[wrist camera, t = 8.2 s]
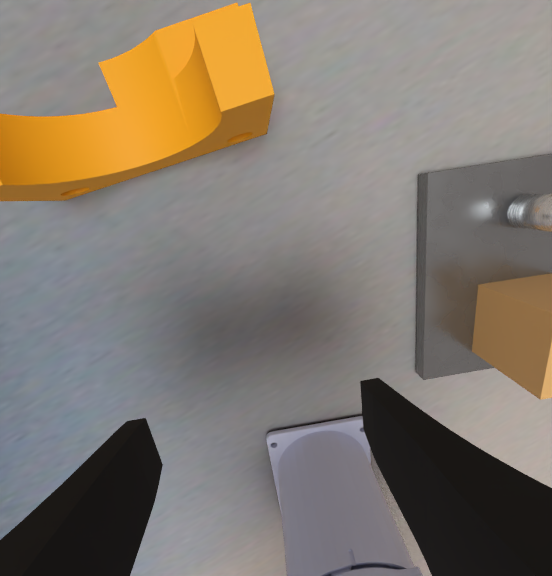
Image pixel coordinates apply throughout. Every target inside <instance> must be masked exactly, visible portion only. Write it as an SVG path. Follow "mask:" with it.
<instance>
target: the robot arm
mask: <svg viewBox="0 0 552 576" xmlns="http://www.w3.org/2000/svg"><path fill="white" fill-rule="evenodd" d="M360 382H361V398H362V415H363V416H358V417H353V418H347V419H341V420H335V421H330V422H324V423H318V424H313V425H307V426H301V427H296V428H290V429H284V430H278V431H273V432H269V433H268V434H267V436H266V441H267V446H268V451H269V456H270V461H271V466H272V471H273V476H274V481H275V486H276V491H277V496H278V501H279V506H280V511H281V516H282V525H283V536H284V548H285V559H286V571H287V576H423V575H422V573H421V571H420V568H419V567H415V566H414V564H413V562H412V559H411V557H410V555H409V552H408V550H407V548H406V545H405V543H404V541H403V539H402V536H401V534H400V532H399V529H398V527H397V525H396V523H395V520H394V518H393V516H392V513H391V511H390V509H389V506H388V504H387V502H386V500H385V497H384V495H383V493H382V490H381V488H380V486H379V483H378V481H377V479H376V477H375V474H374V472H373V470H372V467H371V456H370V448H371V451H372V453H373V456H374V458H375V461H376V463H377V465H378V467H379V469H380V471H381V473H382V475H383V477H384V479H385V481H386V483H387V485H388V486H389V488H390V490H391V492H392V494H393V496H394V498H395V500H396V502H397V504H398V506H399V508H400V510H401V512H402V514H403V516H404V518H405V520H406V522H407V524H408V526H409V527H410V529H411V531H412V533H413V535H414V537H415V539H416V541H417V543H418V545H419V548H420V550H421V552H422V554H423V556H424V558H425V560H426V563H427V565H428V567H429V570H430V572H431V574H432V576H552V488H550V487H548V486H546V485H544V484H542V483H540V482H539V481H537V480H535V479H533V478H531V477H529V476H527V475H525V474H523V473H522V472H520V471H518V470H516V469H514V468H513V467H511V466H509V465H507V464H505V463H504V462H502V461H500V460H498V459H497V458H495V457H493V456H491V455H490V454H488V453H486V452H484V451H483V450H481V449H479V448H478V447H476V446H475V445H473V444H471V443H470V442H468V441H467V440H465V439H463V438H462V437H460V436H459V435H457V434H456V433H454V432H452V431H451V430H449V429H448V428H446V427H445V426H443V425H442V424H440V423H439V422H438V421H436V420H435V419H433V418H432V417H430V416H429V415H428V414H426V413H425V412H423V411H422V410H421V409H419V408H418V407H416V406H415V405H414V404H412V403H411V402H410V401H408V400H407V399H406V398H404V397H403V396H402V395H400V394H399V393H398V392H396V391H395V390H394V389H392V388H391V387H390V386H388V385H387V384H386V383H384V382H383V381H382V380H380V379H379V378H375V379H370V380H364V381H360ZM361 427H363V428H361ZM272 443H275V444H272ZM162 465H163V464H162V462H161V459H160V456H159V453H158V451H157V448H156V445H155V442H154V440H153V437H152V434H151V431H150V429H149V426H148V423H147V420H146V418H143V419H137V420H131V421H127V422H126V423H125V424H124V425H122V426H121V427H120V428H119V429H118V430H117V431H116V432H115V433H114V434H113V435H112V436H111V437H110V438H109V439H108V440H107V441H106V442H105V443H104V444H103V445H102V446H101V447H100V448H99V449H98V450H96V451H95V452H94V453H93V454H92V455H91V456H90V457H89V458H88V459H87V460H86V461H85V462H84V463H83V464H82V465H81V466H80V467H79V468H78V469H77V470H76V471H75V472H74V473H73V474H72V475H71V476H70V477H69V478H68V479H67V480H66V481H65V482H64V483H63V484H62V485H61V486H59V487H58V488H57V489H56V490H55V491H54V492H53V493H52V494H51V495H50V496H49V497H48V498H46V499H45V500H44V501H43V502H42V503H41V504H40V505H39V506H38V507H37V508H36V509H35V510H33V511H32V512H31V513H30V514H29V515H28V516H27V517H26V518H25V519H24V520H23V521H22V522H20V523H19V524H18V525H17V526H16V527H15V528H14V529H12V530H11V531H10V532H9V533H8V534H7V535H6V536H4V537H3V538H2V539H1V540H0V576H130V574H131V571H132V568H133V565H134V562H135V559H136V556H137V553H138V550H139V547H140V544H141V541H142V538H143V535H144V532H145V529H146V526H147V523H148V520H149V517H150V514H151V511H152V508H153V505H154V502H155V498H156V493H157V489H158V485H159V480H160V475H161V470H162Z"/></svg>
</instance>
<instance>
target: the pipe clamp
mask: <svg viewBox="0 0 552 576" xmlns="http://www.w3.org/2000/svg"><path fill="white" fill-rule="evenodd" d="M99 65H100V68H101V70H102V72H103V75H104V77H105V79H106V82H107V84H108V86H109V89H110V91H111V93H112V96H113V98H114V100H115V103H116V105H117V107H115V108H111V109H107V110H103V111H98V112H93V113H86V114H79V115H69V116H51V117H34V116H17V115H7V114H0V201H62V200H68V199H71V198H74V197H77V196H80V195H83V194H86V193H89V192H92V191H95V190H98V189H101V188H104V187H107V186H110V185H113V184H116V183H120V182H123V181H126V180H129V179H132V178H135V177H138V176H141V175H144V174H147V173H150V172H153V171H156V170H159V169H162V168H165V167H168V166H171V165H174V164H177V163H180V162H183V161H186V160H189V159H192V158H195V157H198V156H201V155H204V154H207V153H210V152H213V151H216V150H219V149H222V148H225V147H228V146H231V145H234V144H237V143H240V142H243V141H246V140H249V139H252V138H255V137H258V136H261V135H264V134H267V130H268V125H269V119H270V114H271V109H272V104H273V99H274V91H273V87H272V83H271V79H270V76H269V72H268V68H267V64H266V60H265V57H264V53H263V49H262V45H261V42H260V38H259V34H258V30H257V27H256V23H255V19H254V15H253V11H252V8H251V4H250V3H248V4H245V5H242V6H239V7H238V3H235V4H232V5H229V6H226V7H223V8H220V9H217V10H214V11H211V12H208V13H206V14H203V15H200V16H197V17H194V18H191V19H188V20H185V21H182V22H179V23H176V24H174V25H171V26H168V27H165V28H162V29H159V30H156V31H155V32H154V33H153V34H152V35H150V36H149V37H148V38H147V39H146V40H145V41H143V42H142V43H141V44H139V45H138V46H136V47H135V48H133V49H131V50H130V51H128V52H126V53H124V54H122V55H119V56H117V57H114V58H112V59H109V60H106V61H103V62H99Z"/></svg>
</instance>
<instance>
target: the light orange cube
mask: <svg viewBox="0 0 552 576" xmlns="http://www.w3.org/2000/svg"><path fill="white" fill-rule="evenodd" d="M472 352H473V353H475V354H476V355H478V356H479V357H481V358H482V359H483V360H485V361H486V362H488V363H489V364H491V365H492V366H493V367H495V368H496V369H498V370H499V371H500V372H502V373H503V374H505V375H506V376H508V377H509V378H510V379H512V380H513V381H515V382H516V383H518V384H519V385H520V386H522V387H523V388H525V389H526V390H527V391H529V392H530V393H532V394H533V395H535V396H536V397H537V398H539V399H546V398H552V273H550V274H544V275H537V276H530V277H524V278H517V279H511V280H504V281H498V282H491V283H485V284H478V293H477V304H476V314H475V324H474V334H473V345H472Z"/></svg>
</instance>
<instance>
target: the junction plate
mask: <svg viewBox="0 0 552 576" xmlns="http://www.w3.org/2000/svg"><path fill="white" fill-rule="evenodd" d="M550 273H552V154H548V155H542V156H535V157H529V158H522V159H516V160H509V161H503V162H496V163H490V164H483V165H477V166H470V167H464V168H457V169H451V170H444V171H438V172H431V173H425V174H418V234H417V315H416V373H417V374H418V375H419V376H420V377H421V378H422V379H423V380H426V379H431V378H437V377H443V376H449V375H454V374H460V373H466V372H472V371H478V370H483V369H489V368H495V367H493V366H492V365H491V364H489V363H488V362H486V361H485V360H483V359H482V358H481V357H479V356H478V355H476V354H475V353H473V352H472V345H473V334H474V324H475V314H476V304H477V293H478V284H485V283H491V282H498V281H504V280H511V279H517V278H524V277H530V276H537V275H544V274H550Z"/></svg>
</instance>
